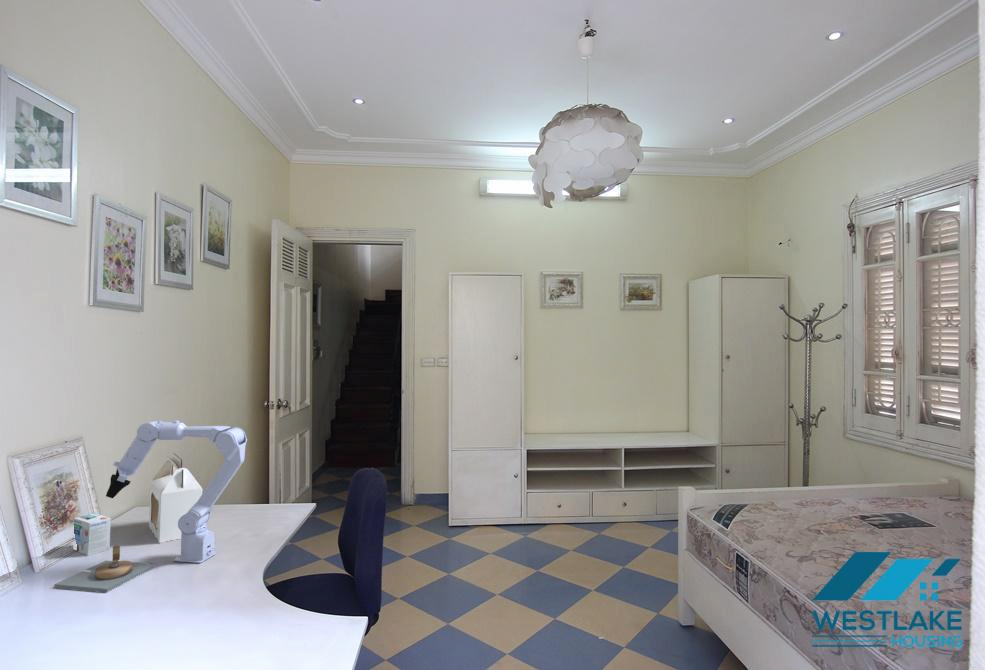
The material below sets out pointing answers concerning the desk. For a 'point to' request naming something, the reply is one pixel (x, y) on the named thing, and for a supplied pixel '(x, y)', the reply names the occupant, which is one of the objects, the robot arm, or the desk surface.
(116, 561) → the dial
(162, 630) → the desk surface
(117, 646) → the desk surface
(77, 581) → the base plate
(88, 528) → the light bulb box
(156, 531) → the gable box
